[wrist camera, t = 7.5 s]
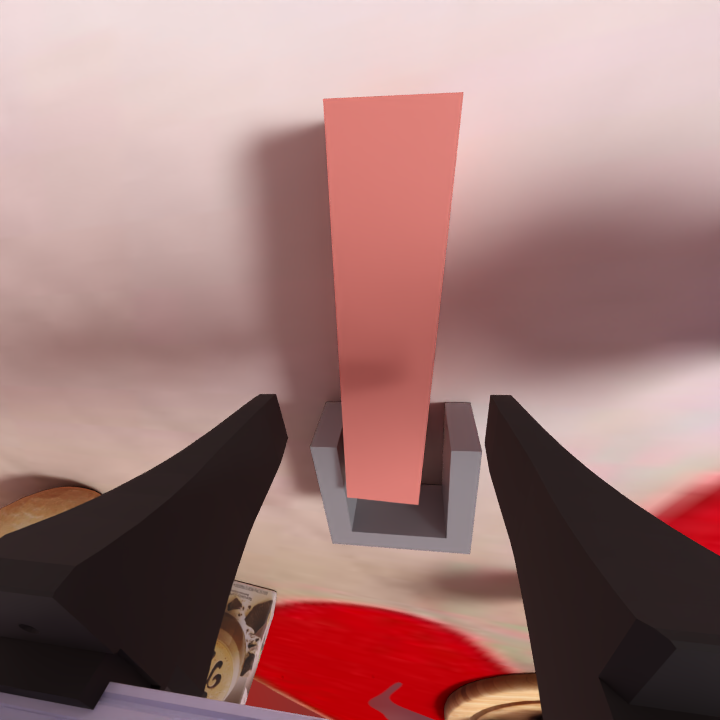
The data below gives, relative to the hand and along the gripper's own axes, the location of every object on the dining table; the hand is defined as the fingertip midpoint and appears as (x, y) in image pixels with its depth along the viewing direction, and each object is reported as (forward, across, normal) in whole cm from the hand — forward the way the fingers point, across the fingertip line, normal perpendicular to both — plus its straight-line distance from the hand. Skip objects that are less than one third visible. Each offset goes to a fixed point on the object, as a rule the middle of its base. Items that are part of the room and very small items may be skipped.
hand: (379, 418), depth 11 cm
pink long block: (+8, 0, 0) cm, 8 cm away
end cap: (+8, 0, +10) cm, 12 cm away
